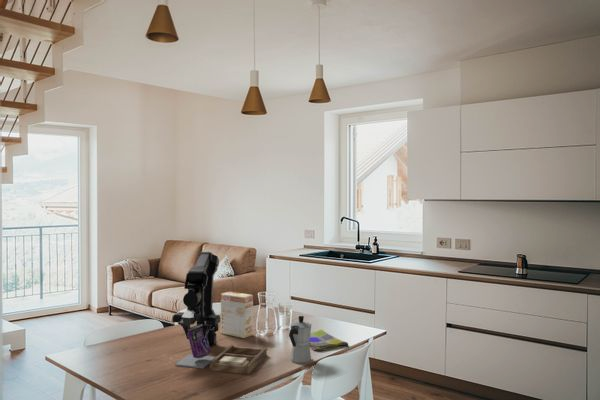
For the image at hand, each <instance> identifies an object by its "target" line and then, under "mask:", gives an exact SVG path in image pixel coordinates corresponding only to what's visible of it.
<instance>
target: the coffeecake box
mask: <svg viewBox="0 0 600 400" xmlns="http://www.w3.org/2000/svg"><path fill="white" fill-rule="evenodd" d="M220 318H221V320H220V334H223V335H227V336H231V337H237V338H242V339H246V338H248V337H252V336H253V335H254V333H253V332H254V328H253V327H254V294H249V293H242V292H234V291H226V292H222V293H220Z"/></svg>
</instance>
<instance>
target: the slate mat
mask: <svg viewBox="0 0 600 400" xmlns="http://www.w3.org/2000/svg"><path fill="white" fill-rule="evenodd" d="M216 357H217V356H211V355H207V356H205V357H203V358H194V357H193V354H190V353H189V354H187V355H185V357H183V358H181V359H180V360H179V361H177V362H176V363H174V366H175V367H185V368H194V369H195V368H196V369H204V368H206V367H208V365H210V362H211V361H212V360H213V359H214V358H216Z"/></svg>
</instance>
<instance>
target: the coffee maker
mask: <svg viewBox="0 0 600 400" xmlns="http://www.w3.org/2000/svg"><path fill="white" fill-rule="evenodd" d="M304 318H305V317H304V316H303V315H298V322H293V323H291V324H290V330H289V334H288V337H289V340H290V342H291V344H292V346H291V347H292V348H291V354H290V361H291V363H293V364H294V363H295V364H308V363H310V362H312V356H311V349H310V347H309V343H308V342H309V340H310V333H312V332H311V331H312V330H311V329H312V324H311V323H309V322H307V321H306V322H305V321H304Z"/></svg>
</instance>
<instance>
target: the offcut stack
mask: <svg viewBox="0 0 600 400" xmlns="http://www.w3.org/2000/svg"><path fill="white" fill-rule="evenodd" d="M248 363H249V361H247V358H242V357H230V356H224V357H223V358H222V359H221V360H219V364H228V365H238V366H246V365H247V364H248Z"/></svg>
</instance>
